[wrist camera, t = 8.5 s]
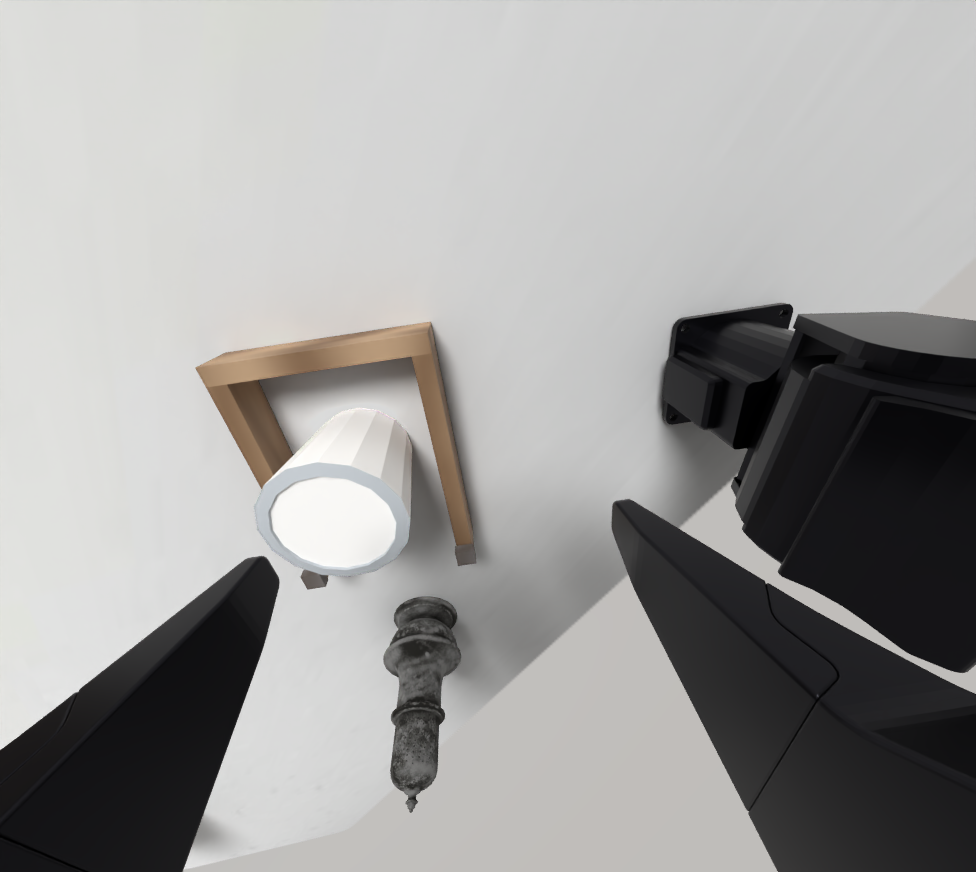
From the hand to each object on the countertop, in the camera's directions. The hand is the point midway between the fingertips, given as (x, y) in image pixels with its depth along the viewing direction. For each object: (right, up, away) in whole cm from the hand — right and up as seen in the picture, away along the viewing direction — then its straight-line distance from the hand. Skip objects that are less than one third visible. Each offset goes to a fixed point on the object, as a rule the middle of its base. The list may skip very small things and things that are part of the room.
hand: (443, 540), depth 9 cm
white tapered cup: (-6, +2, +13) cm, 15 cm away
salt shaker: (-4, -13, +22) cm, 25 cm away
